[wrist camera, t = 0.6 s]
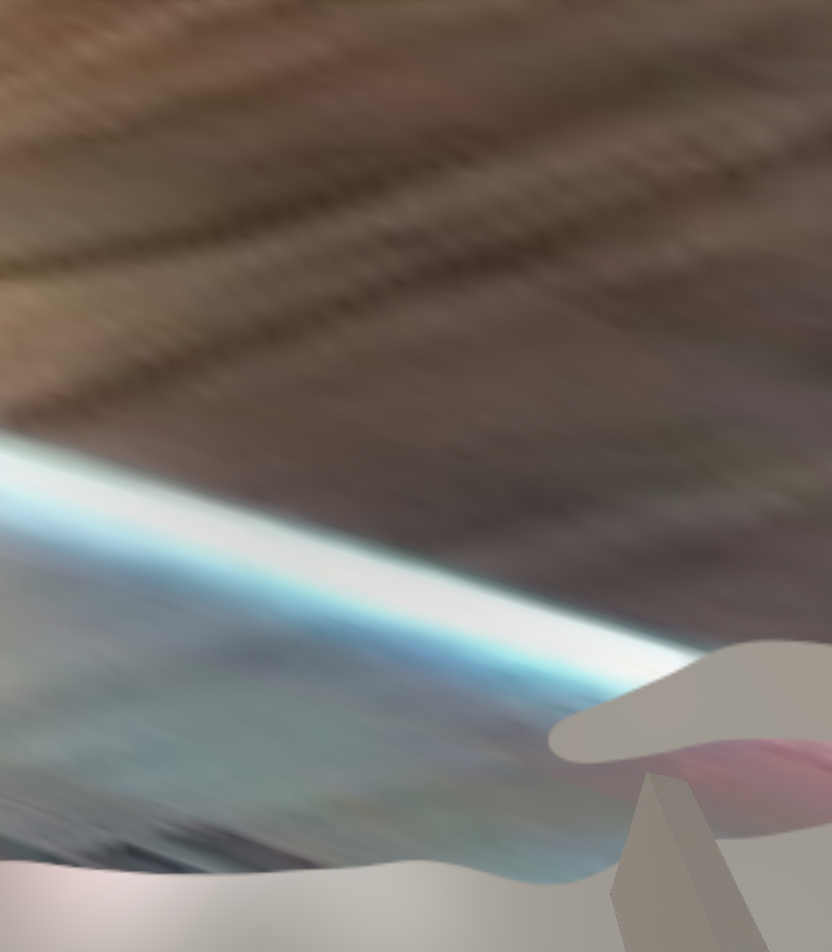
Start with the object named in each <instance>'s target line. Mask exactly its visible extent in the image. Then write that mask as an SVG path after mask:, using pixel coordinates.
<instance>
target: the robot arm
mask: <svg viewBox="0 0 832 952" xmlns="http://www.w3.org/2000/svg"><path fill="white" fill-rule="evenodd" d="M610 895H611V899H612V903H613V906H614V910H615V914H616V918H617V922H618V925H619V929H620V933H621V936H622V940H623V944H624V948H625V951H626V952H769V950H768V948H767V946H766V944H765V942H764V940H763V938H762V935H761V933H760V932H759V929H758V927H757V925H756V923H755V921H754V919H753V917H752V915H751V913H750V911H749V909H748V907H747V905H746V903H745V901H744V899H743V896H742V895H741V893H740V890H739V889H738V886H737V884H736V882H735V880H734V878H733V876H732V874H731V872H730V870H729V868H728V866H727V864H726V862H725V860H724V857H723V855H722V853H721V851H720V849H719V847H718V845H717V843H716V841H715V839H714V837H713V835H712V833H711V831H710V829H709V827H708V825H707V822H706V820H705V818H704V816H703V814H702V812H701V810H700V808H699V806H698V804H697V802H696V800H695V798H694V796H693V794H692V792H691V790H690V788H689V786H688V783H687V781H685V780H680V779H676V778H671V777H666V776H661V775H657V774H652V773H646V777H645V780H644V783H643V787H642V790H641V793H640V797H639V800H638V803H637V807H636V810H635V813H634V816H633V820H632V823H631V826H630V830H629V833H628V836H627V840H626V843H625V846H624V850H623V853H622V856H621V859H620V863H619V866H618V870H617V873H616V876H615V879H614V883H613V886H612V889H611V893H610Z"/></svg>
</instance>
